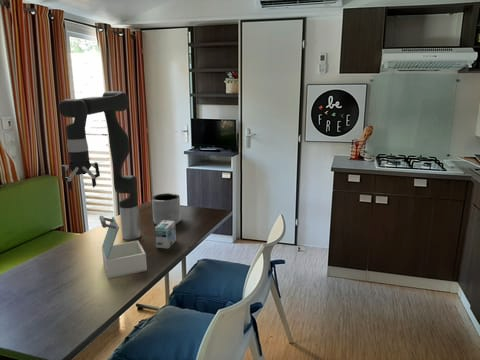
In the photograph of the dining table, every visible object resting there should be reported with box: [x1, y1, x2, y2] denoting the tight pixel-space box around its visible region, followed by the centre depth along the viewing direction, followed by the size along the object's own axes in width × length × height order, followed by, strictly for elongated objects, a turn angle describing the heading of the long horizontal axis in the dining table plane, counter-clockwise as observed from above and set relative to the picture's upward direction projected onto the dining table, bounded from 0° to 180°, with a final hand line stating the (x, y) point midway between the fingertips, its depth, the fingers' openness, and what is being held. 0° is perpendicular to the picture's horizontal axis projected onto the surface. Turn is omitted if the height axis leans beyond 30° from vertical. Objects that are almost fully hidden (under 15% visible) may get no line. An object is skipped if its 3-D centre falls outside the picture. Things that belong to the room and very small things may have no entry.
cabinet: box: [101, 240, 148, 280], centre depth 159 cm, size 16×16×8 cm
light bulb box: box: [154, 220, 177, 249], centre depth 182 cm, size 11×7×11 cm, turn 168°
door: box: [99, 215, 120, 260], centre depth 153 cm, size 15×14×6 cm
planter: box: [151, 192, 182, 226], centre depth 213 cm, size 16×16×16 cm
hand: (82, 188), depth 151 cm, fingers open, 8 cm apart
